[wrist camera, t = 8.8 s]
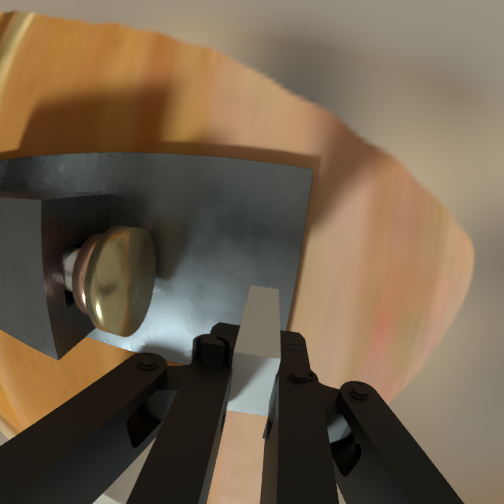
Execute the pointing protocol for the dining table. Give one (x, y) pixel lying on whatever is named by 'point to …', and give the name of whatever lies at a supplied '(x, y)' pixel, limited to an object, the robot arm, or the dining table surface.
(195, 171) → the bearing block
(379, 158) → the dining table surface
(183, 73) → the dining table surface
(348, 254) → the dining table surface
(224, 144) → the dining table surface
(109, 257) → the shaft
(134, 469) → the candle holder
